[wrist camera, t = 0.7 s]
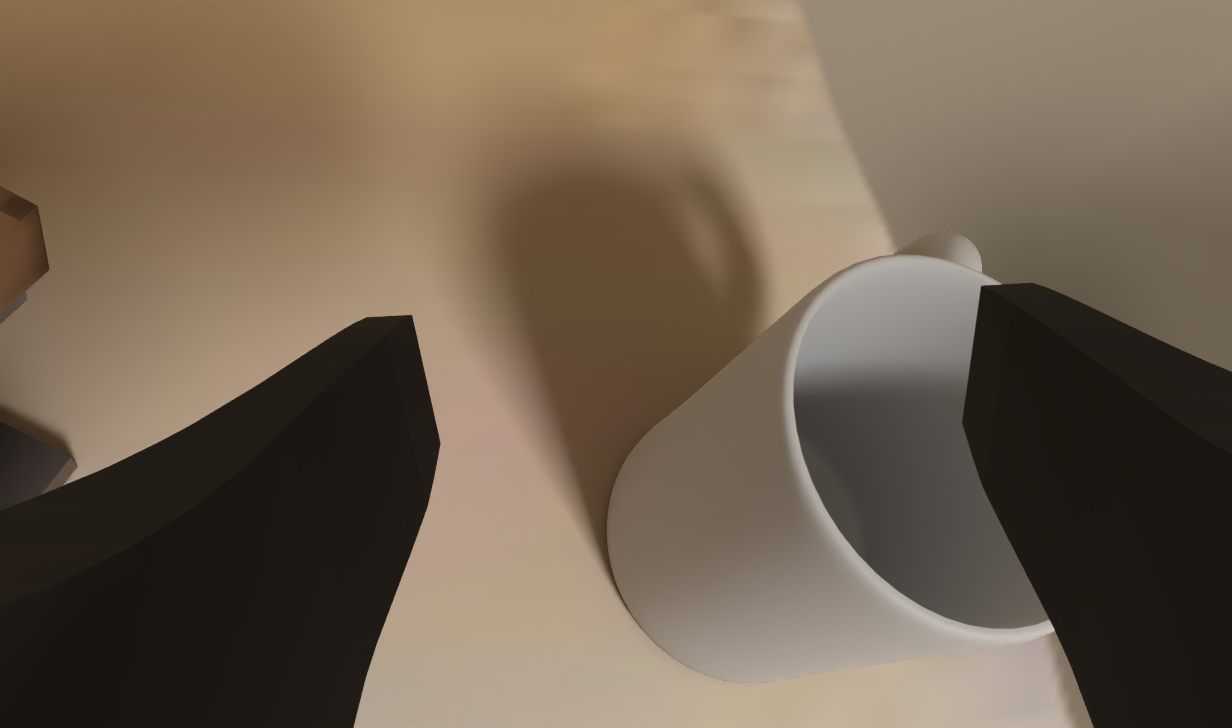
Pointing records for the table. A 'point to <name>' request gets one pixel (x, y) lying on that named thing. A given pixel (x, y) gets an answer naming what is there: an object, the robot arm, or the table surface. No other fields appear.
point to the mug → (827, 490)
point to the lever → (19, 251)
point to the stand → (29, 467)
